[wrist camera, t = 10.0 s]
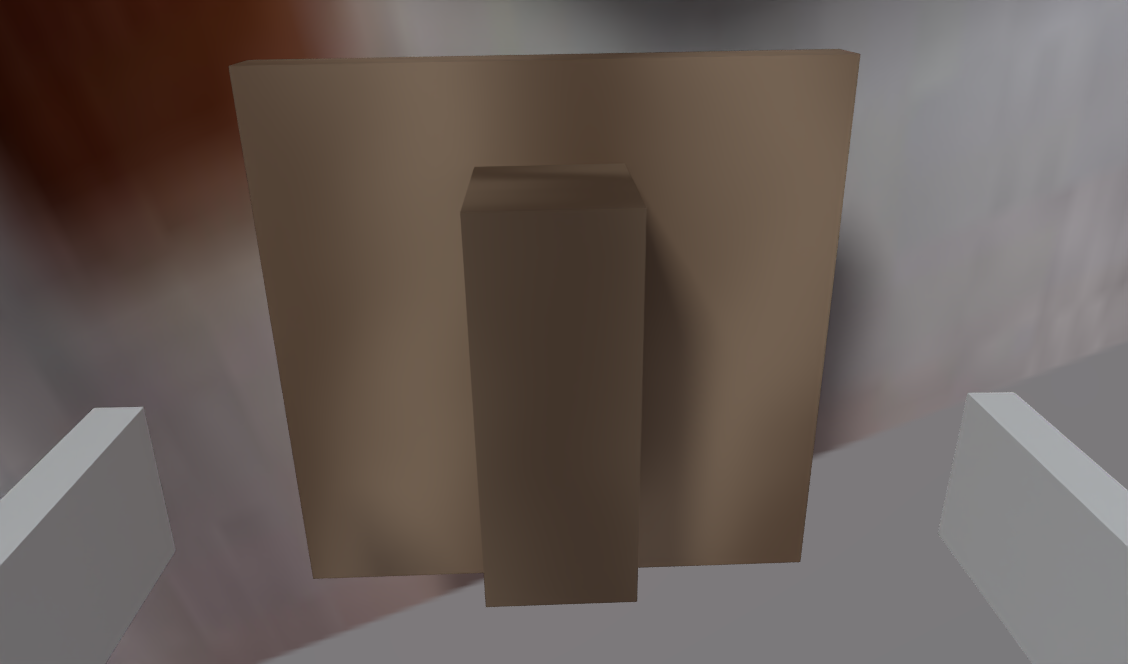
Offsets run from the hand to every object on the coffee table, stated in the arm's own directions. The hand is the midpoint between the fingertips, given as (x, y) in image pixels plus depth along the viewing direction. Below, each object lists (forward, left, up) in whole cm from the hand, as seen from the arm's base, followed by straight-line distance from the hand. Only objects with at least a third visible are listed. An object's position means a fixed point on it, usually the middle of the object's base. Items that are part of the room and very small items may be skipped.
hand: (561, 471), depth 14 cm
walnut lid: (0, 0, -6) cm, 6 cm away
